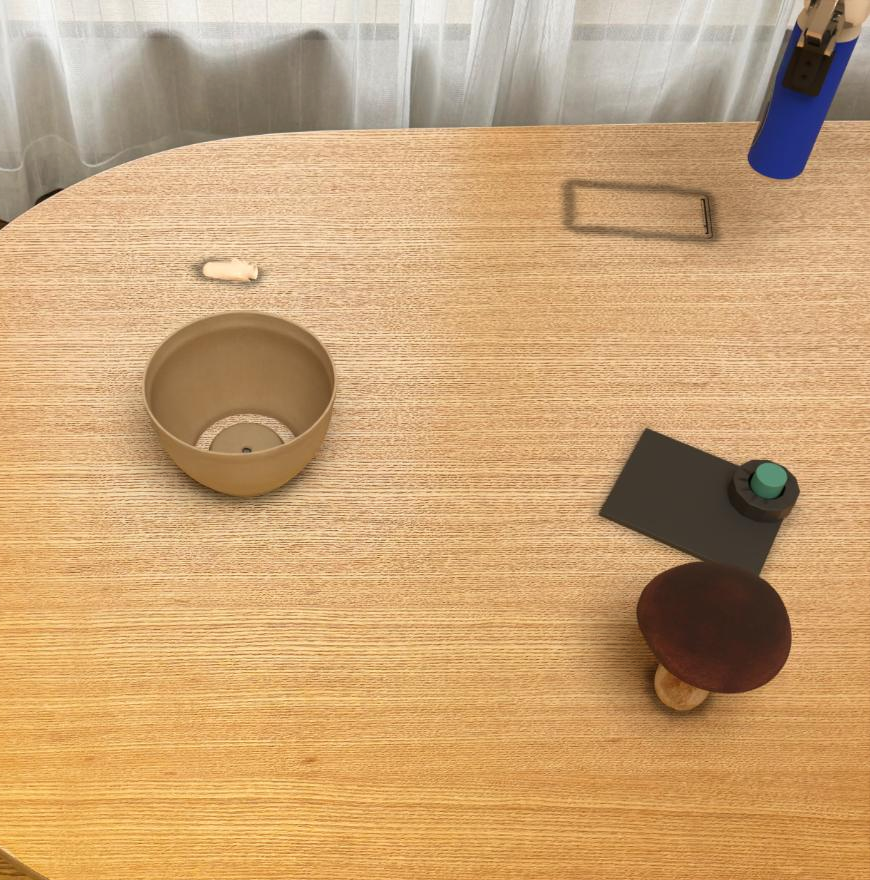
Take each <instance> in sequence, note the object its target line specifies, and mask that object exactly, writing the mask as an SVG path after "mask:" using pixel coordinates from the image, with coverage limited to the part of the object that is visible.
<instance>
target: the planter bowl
mask: <svg viewBox="0 0 870 880" xmlns="http://www.w3.org/2000/svg"><path fill="white" fill-rule="evenodd" d="M337 391H338V372H337V367H336V364H335V360H334V358H333V356H332V353H331V351H330V349H329V348H328V347H327V346H326V344H325V343H324V342H323V341H322V340H321V338H319V337H318V336H317V335H316V334H315V332H313V331H311V329H309V328H307V327H306V326H304V325H303V324H302V323H298V322H297V321H295V320H294V319H292V318H291V319H290V318H288V317H285V316H283V315H279V314H275V313H273V312H272V313H271V312H265V311H261V310H252V309H237V310H236V309H234V310H225V311H219V312H213V313H211V314H207V315H203V316H200V317H198V318H195V319H193V320H191V321H188V322H186V323H185V324H183V325H181V326H178V328H176V329H175V330H173V331H172V332H170V333H169V334H168V335H167V336H165V337H164V338H163V339H162V340H161V341H160V342H159V343H158V345H156V346H155V348H154V349H153V351H152V352H151V353H150V355H149V358H148V360H147V361H146V364H145V366H144V368H143V373H142V376H141V397H142V401H143V405H144V409H145V411H146V413H147V416H148V417H149V419H150V422H151V425H152V428H153V431H154V433H155V435H156V437H157V439H158V441H159V442H160V444H161V446H162V447H163V449H164V450H165V452H166V454H167V455H168V456H169V458H170V459H171V460H172V462H174V463H175V465H176V466H178V467H179V468H180V470H182V471H183V472H184V473H185V474H187V476H189V477H190V478H192V479H193V480H194V481H196V482H198V483H200V484H201V485H203V486H205V487H207V488H209V489H211V490H214V491H216V492H218V493H220V494H223V495H226V496H230V497H236V498H237V497H238V498H251V497H253V498H254V497H259V496H263V495H267V494H269V493H272V492H275V491H276V490H278V489H280V488H281V487H283V486H284V485H286V484H287V483H288V482H289V481H291V480H292V479H294V478H295V477H296V476H298V474H299V473H301V472H302V471H303V470H304V469H305V468H306V467H307V465H308V464H309V463H310V462H311V461H312V460H313V458H315V456H316V454H317V452H318V451H319V449H320V448H321V446H322V444H323V442H324V440H325V438H326V435H327V433H328V431H329V427H330V423H331V420H332V415H333V410H334V405H335V401H336V397H337ZM240 415H259V416H263V417H267V418H271V419H273V420H275V421H277V422H279V423H281V424H282V425H283V426H284V427H286V428H287V430H288V431H290V433H292V436H293V437H294V438H293V439H290V440H289V441H286V442H285V441H284V440H283V438H282V437H281V436H280V434H278V433H277V432H276V431H275V430H274V429H272V428H270V427H269V426H266V425H264V424H261V423H257V422H239V423H238V422H237V423H235V424H232V425H229V426H227V427H225V428H224V429H221V431H219V432H218V433H217V434H216V435H215V436H214V438H213V439H212V440H211V443H210V445H209V447H208V449H204V448H201V447H197V444H198V442H199V440H200V438H201V437H202V436H203V434H204V433H205V432H206V431H207V430H208V429H209V428H210V427H211V426H213V425H214V424H216V423H217V422H219V421H222V420H225V419H226V418H229V417H233V416H240ZM244 449H248V450H250V452H244Z"/></svg>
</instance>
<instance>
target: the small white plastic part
mask: <svg viewBox="0 0 870 880" xmlns="http://www.w3.org/2000/svg"><path fill="white" fill-rule="evenodd" d="M202 275H204V276H206V277H207V278H215V279H220V280H227V281H239V282H240V281H241V282H251V280H257V278H258V276H259V268H258V265H257V263H255V262H254V263H252V261H247V260H239V259H238V258H236V257H233V258H231V261H214V262H213V261H208V262H206V263H205V264H204V265H203V267H202Z"/></svg>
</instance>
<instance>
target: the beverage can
mask: <svg viewBox="0 0 870 880" xmlns="http://www.w3.org/2000/svg"><path fill="white" fill-rule="evenodd" d="M836 10H837V11H840V12H844V6H843V5H839V4H838V6H837V8H836ZM810 12H811V9H810V10H809V11H807V10H806V9H805V6H804V7H803V9H802V10H801V11H800V12H799V14H798V15H797V17H796V20H795V22H794V26H793V28H792V31H791V33H790V37H789V39H788V42H787V45H786V48H785V51H784V53H783V56H782V59H781V61H780V64H779V67H778V70H777V73H776V76H775V78H774V81H773V84H772V87H771V89H770V92H769V95H768V98H767V100H766V103H765V106H764V109H763V111H762V114H761V117H760V120H759V122H758V125H757V128H756V130H755V134H754V136H753V139H752V141H751V144H750V147H749V150H748V153H747V157H746V158H747V162H748V165H749V167H750V169H751V171H752V172H753V173H754V174H755V176H757V177H759V178H760V179H762V180H765V181H768V182H772V183H786V182H789V181H790V182H791V181H792V180H794V179H797V177H799V176H800V175H802V173H804V171H805V169H806V166H807V163H808V161H809V159H810V156H811V154H812V151H813V149H814V147H815V144H816V142H817V139H818V137H819V135H820V132H821V130H822V127H823V125H824V122H825V120H826V118H827V115H828V114H829V111H830V108H831V105H832V104H833V101H834V99H835V96H836V93H837V91H838V89H839V86H840V83H841V81H842V79H843V77H844V75H845V71H846V69H847V66H848V64H849V62H850V60H851V57H852V55H853V52H854V50H855V48H856V45H857V43H858V41H859V38H860V35H861V33H862V24H863V23H862V24H860V25H858V26H853V23H849V22H845V25H844V27H843V29H842V31H841V34H840V36H839V38H838V41H837V43H836V45H835V48H834V50H833V51H837V52H836V55H835V57H834V60H833V62H832V65H831V67H830V70H829V72H828V75H827V77H826V80H825V82H824V85H823V87H822V90H821V92H820V94H819V95H818V96H817V97H811V96H808V95H805V94H802V93H799V92H796V91H793V90H790V89H787V88H785V87H783V86H782V80H783V77H784V75H785V72H786V69H787V67H788V64H789V61H790V58H791V56H792V53H793V50H794V48H795V45H796V42H797V41H798V39H800V36H801V34H802V31H803V29H804V26H805V24H806V22H807V19H808V17H809V14H810ZM836 23H837V22H834V21H830V24H829V27H828V30H830V31H831V35H832V33H833V30H834V28H835V26H836Z"/></svg>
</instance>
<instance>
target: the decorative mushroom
mask: <svg viewBox="0 0 870 880" xmlns="http://www.w3.org/2000/svg"><path fill="white" fill-rule="evenodd" d="M635 619H636V622H637V626H638V629H639V631H640V633H641V635H642V637H643V639H644V641H645V643H646V644H647V646H648V648H649V650H650V652H651V653H652V654H653V656H654V658H655V659H656V660H657V662H658V663H659V664H658V666H657V669H656V672H655V675H654V680H653V681H654V682H653V683H654V684H653V685H654V690H655V694H656V696H657V697H658V699H659V700H660V701H661V703H663V704H664V705H665V706H667V708H668V707H669V708H671V709H674V710H675V711H690V710H693V709H694V708H696V707H697V706H699V705H701V704H702V703H703V702H704V701H705V699H706V698H707V697H708V696H709V694H710V693H715V694H722V695H723V694H725V695H726V694H727V695H735V694H743V693H749V692H751V691H754V690H757V689H760V688H762V687H763V686H765V685H767V684H768V683H770V682H771V681H773V679H775V678H776V677H777V676H778V674H779V673H780V672H781V671H782V670H783V668H784V667H785V665H786V663H787V661H788V659H789V656H790V653H791V650H792V641H793V633H792V632H793V631H792V625H791V619H790V615H789V613H788V610H787V607H786V605H785V603H784V601H783V599H782V597H781V596H780V594H779V592H778V591H777V590H776V588H774V587H773V586H772V584H770V583H769V582H768V581H767V580H766V579H764V578H762V577H761V576H760V575H759V576H757V575H755V574H753V573H752V572H750V571H747V570H744V569H742V568H739V567H737V566H733V565H730V564H726V563H720V562H711V561H702V560H700V561H692V562H687V563H682V564H679V565H676V566H672V567H671V568H668V569H666V570H664V571H662V572H660V573H659V574H657V575H655V576H654V577H653V578H652V579H651V580H650V581H649V582H648V583H647V584H646V585H645V586H644V588H643V589H642V591H641V593H640V595H639V598H638V600H637V604H636V610H635Z"/></svg>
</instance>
